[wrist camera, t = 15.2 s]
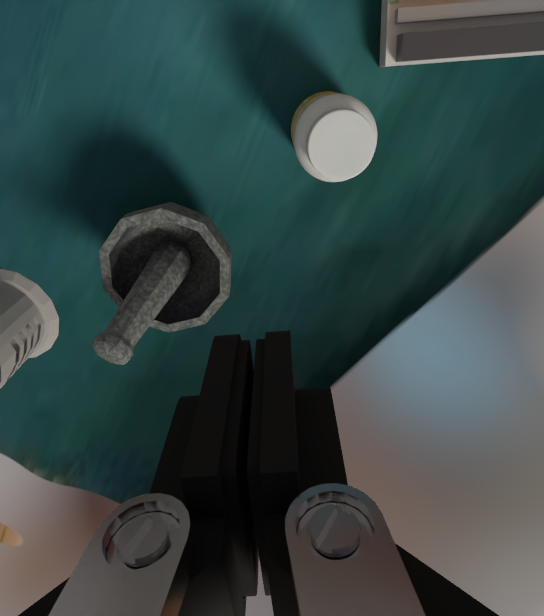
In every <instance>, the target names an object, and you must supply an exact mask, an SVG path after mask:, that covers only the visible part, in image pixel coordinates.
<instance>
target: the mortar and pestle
mask: <svg viewBox="0 0 544 616" xmlns="http://www.w3.org/2000/svg"><path fill="white" fill-rule="evenodd" d="M99 256H100V264H101V272H102V280H103V289H104V291H105V292H106V293H107V294H108V295H109V296H110V297H111V299H112V300H113V301H114V302H115V303H116V304H117V305H118V306H119V309H118V311H117V312H116V314H115V316H114V317H113V319H112V320H111V322H110V324H109V325H108V327H107V329H106V330H105V331H104V332H102V333H99V334H98V336H97V337H96V338H95V340H94V341H93V343H92V346H93V348H94V349H95V351H96V353H97V354H98V355H99V356H101V357H102V358H103V359H104V360H107V361H109V362H111V363H113V364H121V365H124V364H126V363H127V362H128V361H129V360H130V358H131V357H132V356H133V347H134V346H135V345H136V343H137V342H138V340H139V339H140V338H141V336H142V335H143V334H144V332H145V331H146V330H147V328H148V327H149V326H150V327H153V328H156V329H159V330H162V331H166V332H173V331H177V330H182V329H186V328H190V327H195V326H199V325H203V324H206V323H207V322H208V320H209V319H210V318H211V317H212V316H213V315H214V313H215V312H216V311H217V310H218V309H219V308H220V306H221V305H222V304H223V303H224V302H225V301H226V299H227V298H228V297H229V294H230V288H231V249H230V246H229V245H228V243H227V242H226V240H225V239H224V238H223V236H222V235H221V233H220V232H219V231H218V229H217V228H216V226H215V225H214V224H213V222H212V221H211V219H210V218H209V217H208V215H205V214H202V213H200V212H197V211H194V210H192V209H189V208H186V207H184V206H181V205H178V204H176V203H173V202H167V203H164V204H160V205H156V206H152V207H149V208H145V209H141V210H137V211H134V212H131V213H128V214H126V215H125V216H123V217H122V218H121V219H120V221H119V222H118V224H117V225H116V227H115V228H114V230H113V231H112V233H111V234H110V235H109V237H108V238H107V240H106V241H105V243H104V244H103V246H102V247H101V249H100V250H99Z"/></svg>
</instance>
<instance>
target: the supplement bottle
mask: <svg viewBox="0 0 544 616" xmlns="http://www.w3.org/2000/svg"><path fill="white" fill-rule="evenodd" d="M291 137H292V141H293V145H294V148H295V152H296V155H297V158H298V160H299V162H300V164H301V165H302V166H303V168H304V169H305V170H306V171H307V172H308V173H309V174H311V175H312V176H313V177H315V178H317V179H320V180H322V181H327V182H340V181H345V180H348V179H350V178H353V177H355V176H357V175H358V174H360V173H361V172H362V171H363V170H364V169H365V168H366V167H367V166H368V164H369V163H370V161H371V159H372V157H373V155H374V152H375V148H376V144H377V127H376V123H375V120H374V118H373V115H372V114H371V112H370V111H369V109H368V108H367V107H366V106H365V105H364V104H363V103H362V102H361V101H359V100H358V99H356V98H354V97H352V96H349V95H345V94H341V93H337V92H333V91H323V92H318V93H315V94H313V95H311V96H310V97H308V98H307V99H305V100H304V101H303V102H302V103H301V104H300V105H299V107H298V108H297V110H296V112H295V114H294V116H293V119H292V123H291Z"/></svg>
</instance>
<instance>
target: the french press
mask: <svg viewBox="0 0 544 616" xmlns="http://www.w3.org/2000/svg"><path fill="white" fill-rule="evenodd" d="M58 332H59V317H58V315H57V312H56V310H55V307H54V305H53V302H52V300H51V299H50V298H49V297H48V296H47V295H46V294H45V292H44V291H43V290H42V289H41V288H40V287H39V286H38V285H37V284H36V283H34V282H33V281H31V280H29V279H27V278H26V277H24V276H22V275H20V274H19V273H17V272H13V271H8V270H4V269H0V371H1V375H0V379H1V383H0V388H1V387H2V386H3V385H4V384H5V383H6V381H7V380H8V379H9V378H10V377H11V376H12V375H13V374H14V373H15V371H16V370H17V369H18V368H19V367H20V366H21V365H22V364H23V363H24V362H25V361H26V360H27V358H33V357H37V356H39V355H40V354H42V353H44V352H45V351H47V350H49V349H50V348H51V347H52V345H53V343H54V342H55V340H56V338H57V337H58ZM20 362H21V363H20ZM15 363H17V365H16V366H15ZM19 363H20V364H19ZM18 366H19V367H18ZM17 367H18V368H17ZM14 369H15V370H14ZM12 370H14V371H13V372H12ZM10 375H11V376H10ZM9 376H10V377H9Z"/></svg>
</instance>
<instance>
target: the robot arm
mask: <svg viewBox="0 0 544 616" xmlns="http://www.w3.org/2000/svg"><path fill="white" fill-rule="evenodd" d="M258 558H260V565H261V571H262V577H263V584H264V590H265V595H271V599H272V606H273V612H274V616H499V615H497V614H496V613H494V612H493V611H491V610H490V609H488V608H487V607H486V606H484V605H483V604H481V603H480V602H479V601H477V600H476V599H474V598H473V597H471V596H470V595H468V594H467V593H466V592H464V591H463V590H461V589H460V588H459V587H457V586H456V585H454V584H453V583H451V582H450V581H448V580H447V579H446V578H444V577H443V576H441V575H440V574H438V573H437V572H435V571H434V570H433V569H431V568H430V567H428V566H427V565H425V564H424V563H422V562H421V561H420V560H418V559H417V558H415V557H414V556H413V555H411V554H410V553H408V552H407V551H405V550H404V549H402V548H401V547H400V546H398V545H397V544H395V542H394V540H393V538H392V536H391V533H390V531H389V528H388V526H387V524H386V521H385V519H384V517H383V514H382V513H381V511H380V509H379V508H378V506H377V505H376V503H375V502H374V501H373V500H372V499H371V498H370V497H369V496H367V495H366V494H365V493H364V492H362V491H360V490H358V489H356V488H354V487H352V486H348V484H347V478H346V473H345V467H344V461H343V456H342V450H341V445H340V439H339V434H338V427H337V422H336V416H335V411H334V405H333V399H332V394H331V389H330V387H320V388H305V389H295V383H294V371H293V358H292V346H291V334H290V331H277V332H266V336H265V339H257V340H256V352H255V365H254V368H253V360H252V353H251V345H250V341H249V340H242V341H241V337H240V335H239V334H236V335H223V336H214V339H213V343H212V347H211V351H210V355H209V360H208V364H207V368H206V372H205V376H204V380H203V384H202V388H201V392H200V396H185V397H181V398H180V399H179V401H178V403H177V406H176V409H175V412H174V416H173V419H172V422H171V425H170V429H169V432H168V435H167V438H166V442H165V445H164V448H163V451H162V454H161V458H160V461H159V464H158V467H157V471H156V474H155V477H154V480H153V484H152V487H151V490H150V493H149V494H144V495H141V496H138V497H135V498H132V499H130V500H128V501H126V502H125V503H123V504H121V505H119V506H118V507H117V508H115V509H114V510H113V511H112V512H111V513H110V514H108V515H107V516H106V518H105V519H104V520H103V522H102V523H101V524H100V526H99V527H98V528H97V530H96V532H95V533H94V535H93V537H92V539H91V541H90V542H89V544H88V546H87V548H86V549H85V551H84V553H83V555H82V557H81V558H80V560H79V562H78V564H77V565H76V567H75V569H74V571H73V573H72V574H71V576H70V577H69V578H68V579H67V580H65V581H64V582H63V583H61V584H60V585H58V586H57V587H56V588H54V589H53V590H52V591H51V592H49V593H48V594H46V595H45V596H44V597H42V598H41V599H40V600H38V601H37V602H36V603H34V604H33V605H32V606H30V607H29V608H28V609H26V610H25V611H24V612H22V613H21V614H20V615H18V616H245V609H246V596H256V595H257V585H258Z"/></svg>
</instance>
